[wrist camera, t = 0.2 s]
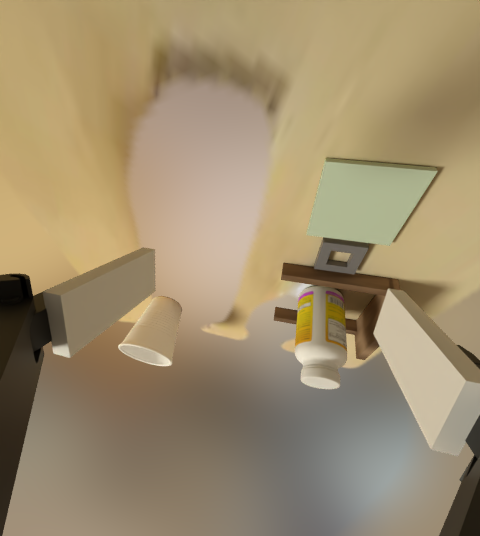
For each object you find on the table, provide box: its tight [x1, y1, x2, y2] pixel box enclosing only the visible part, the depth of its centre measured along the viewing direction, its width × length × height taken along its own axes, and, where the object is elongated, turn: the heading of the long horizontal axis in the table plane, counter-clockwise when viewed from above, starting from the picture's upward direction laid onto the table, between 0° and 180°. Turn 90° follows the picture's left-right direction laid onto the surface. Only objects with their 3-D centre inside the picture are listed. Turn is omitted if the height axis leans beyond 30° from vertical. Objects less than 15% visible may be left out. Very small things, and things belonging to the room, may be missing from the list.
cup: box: [118, 296, 182, 366], centre depth 49 cm, size 10×10×11 cm
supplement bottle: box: [295, 286, 347, 389], centre depth 36 cm, size 7×7×13 cm
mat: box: [307, 158, 438, 246], centre depth 26 cm, size 9×9×1 cm
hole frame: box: [314, 237, 369, 274], centre depth 32 cm, size 5×5×1 cm
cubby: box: [274, 263, 400, 360], centre depth 38 cm, size 13×15×6 cm
